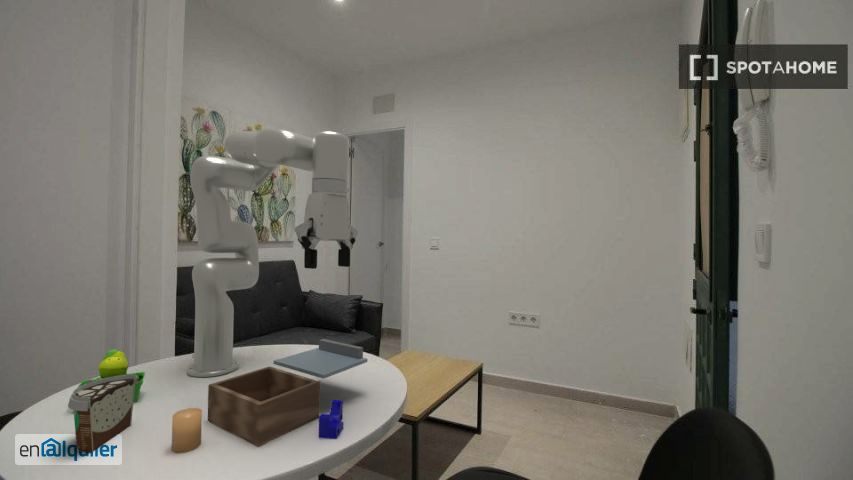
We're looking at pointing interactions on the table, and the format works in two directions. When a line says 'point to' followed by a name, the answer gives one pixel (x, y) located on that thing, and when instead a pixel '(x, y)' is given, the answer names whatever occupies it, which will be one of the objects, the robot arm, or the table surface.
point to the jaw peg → (186, 430)
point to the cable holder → (332, 421)
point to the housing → (263, 404)
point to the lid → (324, 359)
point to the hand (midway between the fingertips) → (328, 267)
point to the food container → (102, 410)
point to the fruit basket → (117, 370)
